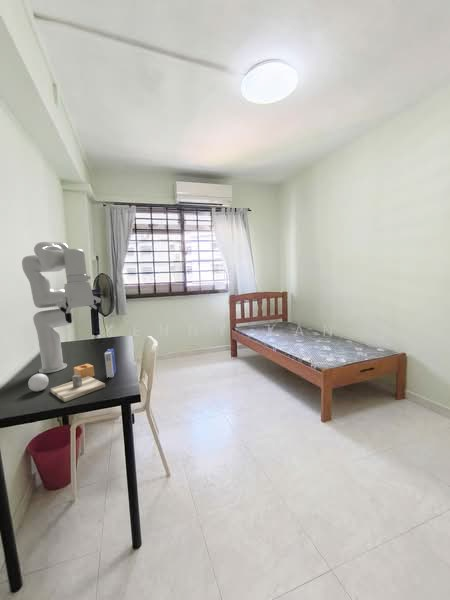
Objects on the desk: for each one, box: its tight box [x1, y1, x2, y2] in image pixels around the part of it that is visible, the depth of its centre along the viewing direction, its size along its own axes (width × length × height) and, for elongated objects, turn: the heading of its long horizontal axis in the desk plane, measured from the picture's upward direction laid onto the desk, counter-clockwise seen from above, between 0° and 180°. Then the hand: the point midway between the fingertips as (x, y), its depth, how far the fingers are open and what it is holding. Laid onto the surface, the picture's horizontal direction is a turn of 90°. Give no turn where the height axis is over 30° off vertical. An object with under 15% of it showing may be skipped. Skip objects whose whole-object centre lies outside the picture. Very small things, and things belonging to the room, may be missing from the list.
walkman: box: [104, 348, 117, 379], centre depth 129 cm, size 8×3×12 cm, turn 11°
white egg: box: [27, 373, 50, 392], centre depth 114 cm, size 10×7×7 cm
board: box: [49, 374, 106, 403], centre depth 114 cm, size 16×16×6 cm
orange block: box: [73, 363, 95, 378], centre depth 129 cm, size 7×7×5 cm
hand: (82, 320), depth 112 cm, fingers open, 9 cm apart
